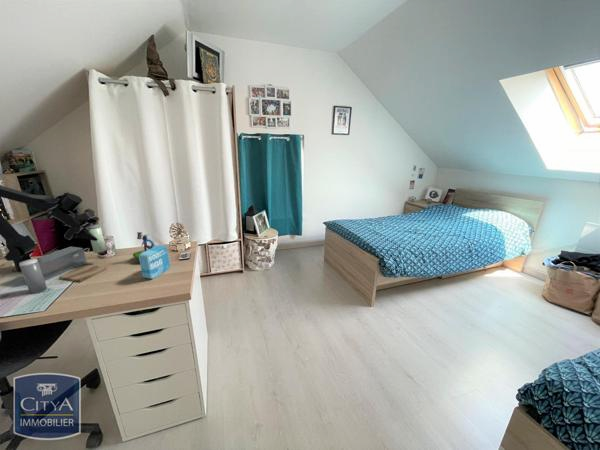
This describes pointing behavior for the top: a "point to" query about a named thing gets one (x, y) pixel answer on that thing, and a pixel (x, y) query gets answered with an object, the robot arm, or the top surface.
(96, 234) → the sage canister
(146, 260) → the data package
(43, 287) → the grey cylinder
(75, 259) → the slate unit
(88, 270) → the walnut plate
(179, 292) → the top surface
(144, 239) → the pirate figurine
